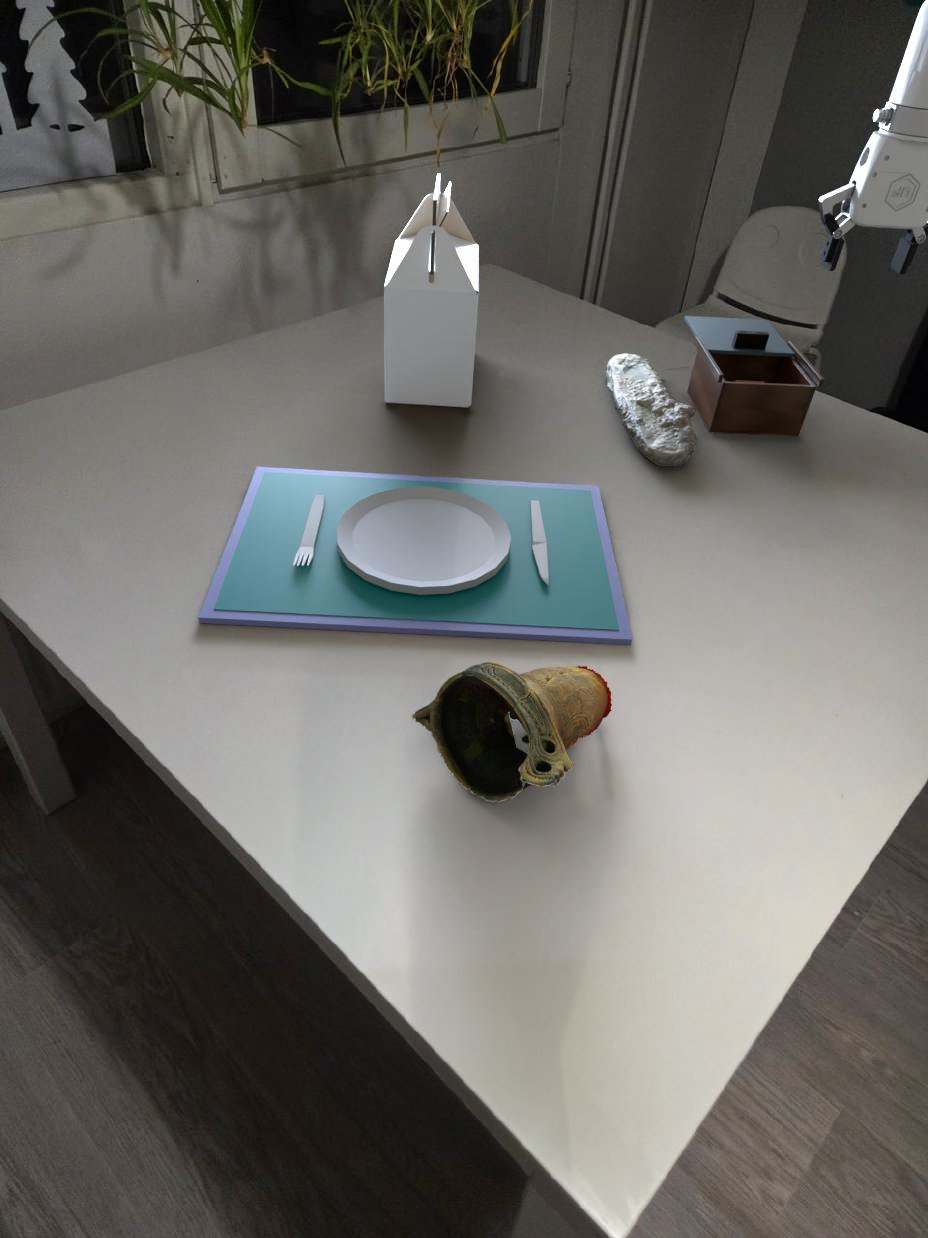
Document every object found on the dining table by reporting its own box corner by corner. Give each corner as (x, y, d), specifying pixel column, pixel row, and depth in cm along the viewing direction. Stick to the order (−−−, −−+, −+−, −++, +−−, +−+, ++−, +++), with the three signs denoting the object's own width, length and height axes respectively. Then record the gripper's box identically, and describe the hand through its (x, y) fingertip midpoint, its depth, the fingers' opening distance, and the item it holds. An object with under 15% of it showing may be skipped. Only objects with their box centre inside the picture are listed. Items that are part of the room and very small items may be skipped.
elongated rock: (649, 375, 142) (592, 376, 141) (653, 345, 139) (595, 346, 138) (709, 470, 114) (638, 472, 114) (716, 435, 111) (643, 436, 110)
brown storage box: (774, 395, 136) (792, 340, 130) (804, 436, 125) (824, 379, 119) (682, 391, 135) (695, 336, 129) (703, 432, 124) (719, 374, 118)
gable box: (470, 409, 125) (484, 210, 107) (384, 403, 125) (383, 203, 107) (471, 350, 142) (483, 170, 124) (395, 345, 142) (396, 164, 124)
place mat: (199, 623, 85) (196, 606, 83) (257, 471, 108) (255, 456, 106) (631, 644, 86) (635, 628, 85) (597, 491, 110) (600, 476, 108)
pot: (679, 667, 71) (548, 711, 58) (663, 788, 74) (535, 854, 61) (527, 624, 82) (390, 652, 70) (518, 729, 85) (385, 775, 73)
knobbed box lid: (765, 322, 138) (771, 304, 136) (794, 357, 127) (800, 338, 125) (684, 319, 137) (688, 300, 135) (705, 353, 127) (710, 334, 125)
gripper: (858, 124, 96) (809, 275, 107) (1000, 133, 97) (937, 282, 108) (834, 112, 101) (790, 257, 113) (968, 121, 103) (911, 263, 114)
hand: (862, 269), depth 110 cm, fingers open, 9 cm apart
